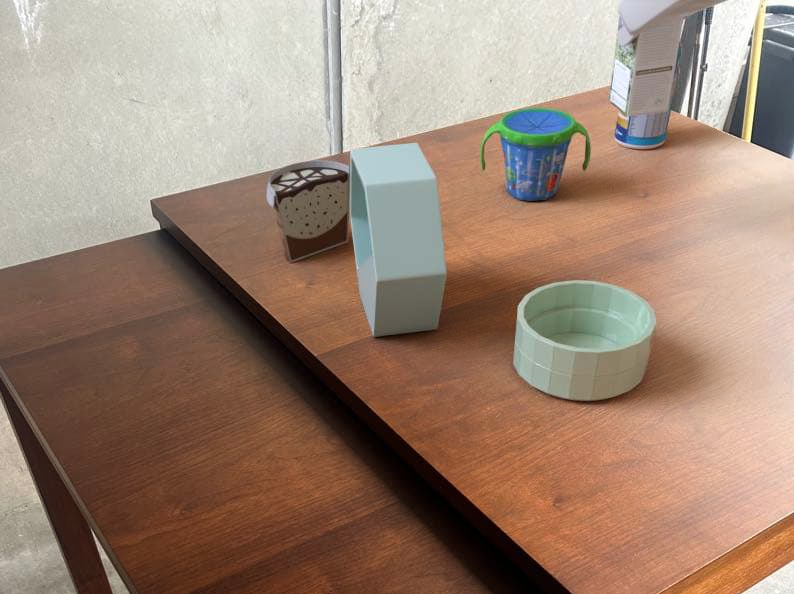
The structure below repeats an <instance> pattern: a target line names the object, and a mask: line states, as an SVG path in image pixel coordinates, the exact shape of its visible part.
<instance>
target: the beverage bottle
mask: <svg viewBox="0 0 794 594" xmlns="http://www.w3.org/2000/svg"><path fill="white" fill-rule="evenodd" d="M684 21H685V19H684V20H683V22H684ZM683 48H684V47H683V42H682V39H681V37H680V42H679V48H678V54H677V60H676V65H675V71H674V77H673V82H672V88H671V94H670V100H669V105H668V110H667V112H661V113H654V114H648V115H640V116H626V115H625V114H624V113H623V112H621V111H620V110H619V109H617V110H618V111H617V118H616V122H615V129H614V137H613V138H614V140H615V142H616V143H617V144H619V146H622V147H625V148H628V149H633V150H652V149H656V148H658V147H661V146H662V145H664V143H665V142H666V139H667V135H668V128H669V122H670V118H671V112H672V108H673V103H674V97H675V92H676V88H677V82H678V79H679V77H680V73H681V67H680V63H679V62H680V59H681V58H682V56H683V51H684V50H683Z"/></svg>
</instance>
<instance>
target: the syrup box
mask: <svg viewBox="0 0 794 594" xmlns="http://www.w3.org/2000/svg"><path fill="white" fill-rule="evenodd" d="M683 19H684V17H682V18H679V19H677V20H674V21H671V22H669V23H666V24H663V25H661V26H658V27H655V28H653V29H650V30H647V31H645V32H642V33H640V34H639V35H640V36H639V37H638V38H637V39H636V40H635V41H634V42H633V43H632V44H629V45H627V46H624V47H621V46H620V44H619V42H618V40H617V39H616V40H615V46H614V48H615V49H614V57H613V63H612V71H611V79H610V86H609V87H610V88H609V94H608V95H609V97H608V103H610V104H611V105H612V106H613V107H615V108H616V109H617V110H620V111H621V112H623V113H624V114H625V115H626V116H640V115H648V114H654V113H661V112H667V110H668V105H669V100H670V94H671V88H672V82H673V77H674V71H675V65H676V60H677V54H678V48H679V42H680V38H681V35H682V29H683V24H684V21H683ZM684 20H685V19H684ZM623 26H624V24H623V22H622V20H621V18H620V15H619V18H618V25H617V32H618V31H619V30H620V29H621V28H622V27H623Z"/></svg>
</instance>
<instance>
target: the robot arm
mask: <svg viewBox="0 0 794 594" xmlns="http://www.w3.org/2000/svg"><path fill="white" fill-rule="evenodd" d="M727 1H728V0H620V1H619V3H618V6H617V13H618V15H619V16H620V18H621V20H622V22H623V24H624V26H623V27H622V28H621V29H620V30H619V31H618V30H617V32H616V33H615V38H616V40H618V42H619V44H620V46H621V47H624V46H627V45H629V44H632V43H633V42H634V41H635V40H636V39H637V38H638V37H639V36H640V35H639V34H640V33H642V32H645V31H647V30H650V29H653V28H655V27H658V26H661V25H663V24H666V23H669V22H671V21H674V20H677V19H679V18H682V17H684V19H683V20H684V21H685V20H687V18H689V17H691V16H692V15H694V14H696V13H698V12H700V11H701V12H702V11H704V10H706V9H709V8H711V7H714V6H717V5H719V4H722V3H725V2H727Z"/></svg>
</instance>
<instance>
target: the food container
mask: <svg viewBox="0 0 794 594" xmlns="http://www.w3.org/2000/svg"><path fill="white" fill-rule="evenodd" d="M266 201H267V203H268V204H269V205H270V206H271V207H272V208H273V211H274V215H275V220H276V224H277V228H278V233H279V237H280V242H281V246H282V251H283V255H284V258H285V260H286V261H287V262H288V263H289V264H291V263H295V262H297V261H300V260H303V259H307V258H308V257H311V256H314V255H317V254H320V253H322V252H325V251H328V250H331V249H333V248H336V247H339V246H342V245H345V244H347V243H349V229H350V165H347V164H345V163H341V162H337V161H332V160H307V161H299V162H294V163H290V164H287V165H285V166H283V167H280V168H279V169H277V170H275V171H274V172H273V173H272V174H271V175H270V176H269V179H268V183H267V187H266Z"/></svg>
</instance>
